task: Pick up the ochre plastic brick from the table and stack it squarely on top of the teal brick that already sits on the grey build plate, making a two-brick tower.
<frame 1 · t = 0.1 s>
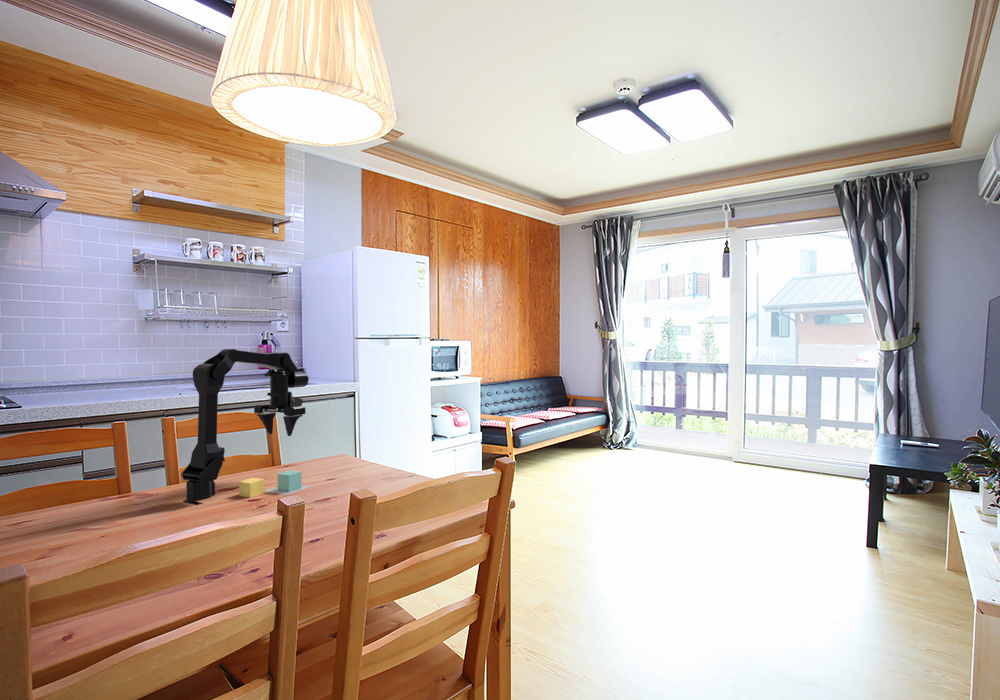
hand: (279, 435, 173), 14 cm above the table, fingers open, 9 cm apart
teal brick: (289, 489, 155), point 1 cm above the table, touching build plate
ochre brick: (252, 497, 150), on the table
build plate: (287, 491, 156), on the table
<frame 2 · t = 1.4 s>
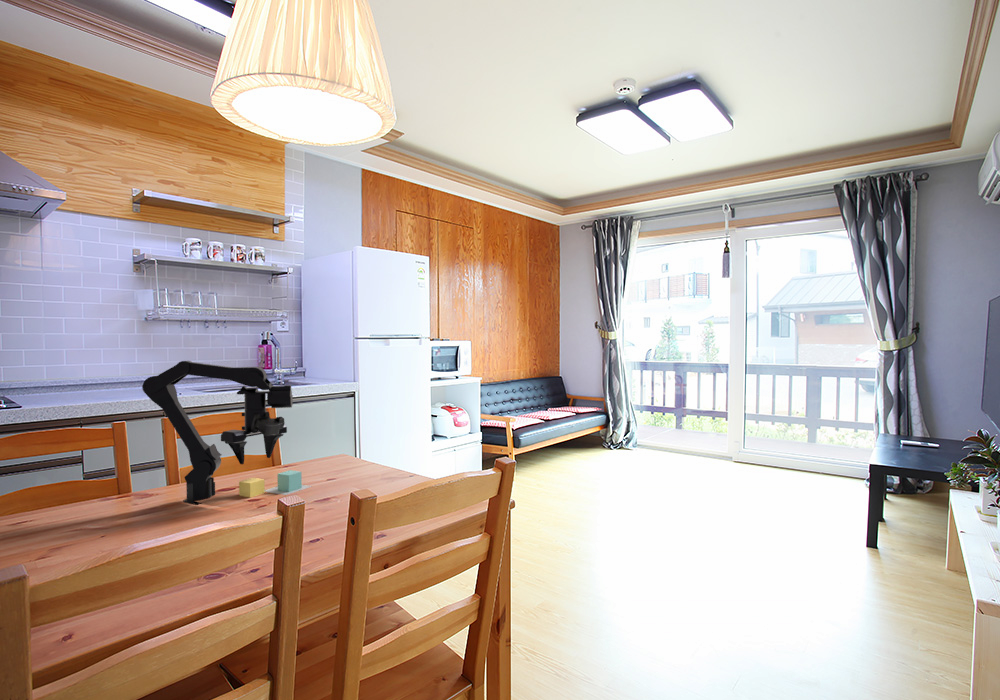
hand: (255, 461, 152), 10 cm above the table, fingers open, 9 cm apart
nothing on the table moved.
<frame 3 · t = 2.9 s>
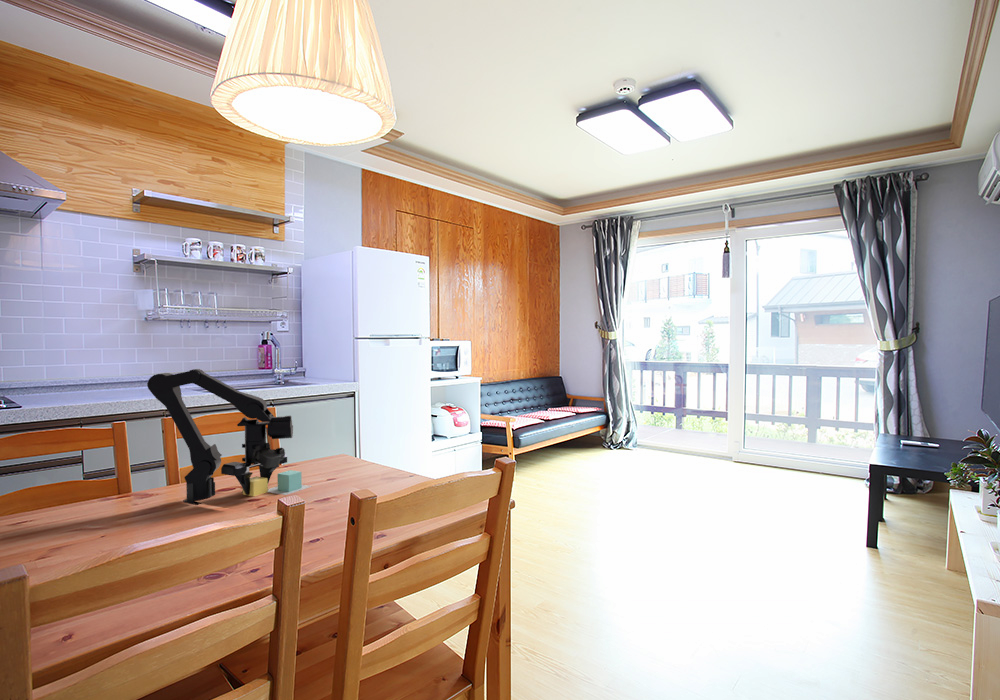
hand: (256, 492, 152), 1 cm above the table, fingers open, 5 cm apart
ochre brick: (255, 495, 151), on the table, touching build plate, gripper
everything else where it was.
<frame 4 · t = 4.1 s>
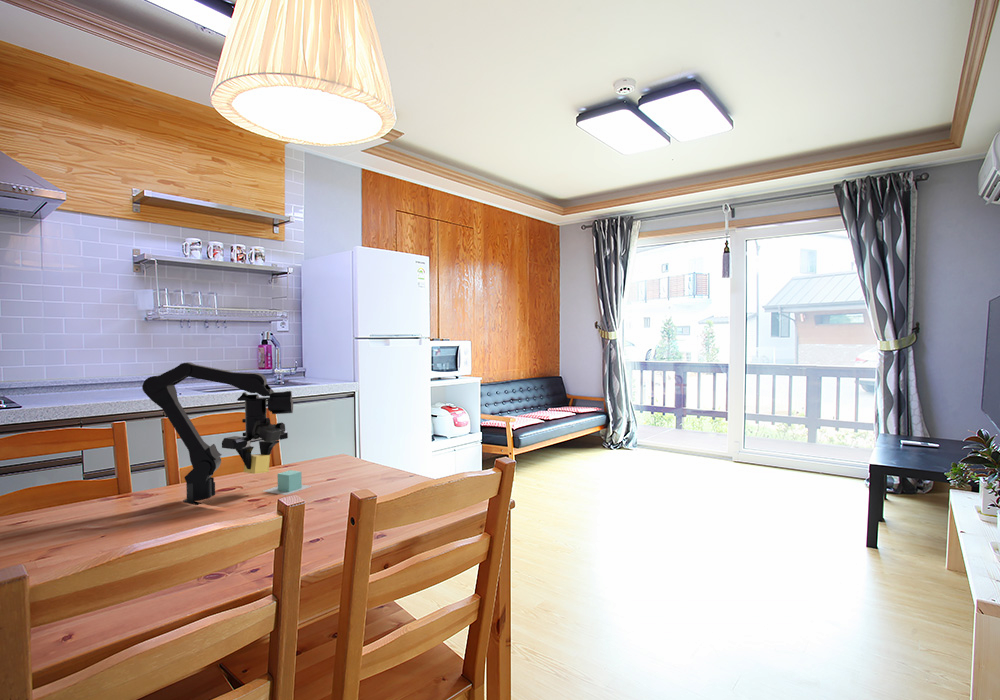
hand: (256, 467, 152), 8 cm above the table, fingers closed on ochre brick, 5 cm apart
ochre brick: (256, 472, 151), point 7 cm above the table, tilted 7°, touching gripper
everything else where it was.
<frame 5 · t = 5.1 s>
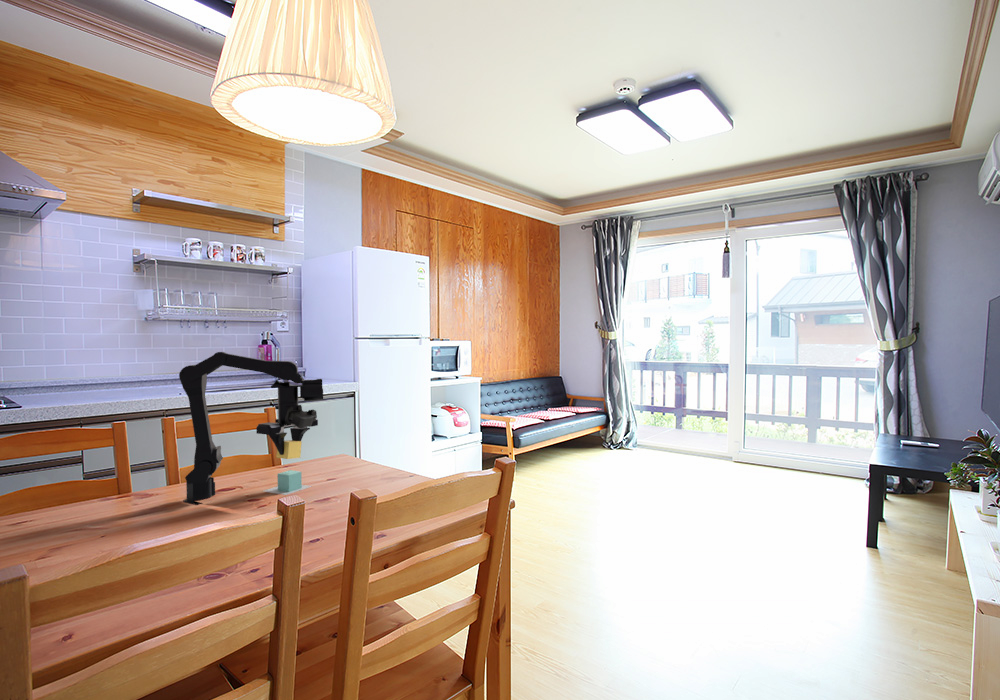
hand: (289, 453, 155), 12 cm above the table, fingers closed on ochre brick, 5 cm apart
ochre brick: (288, 457, 155), point 10 cm above the table, tilted 7°, touching gripper
everything else where it was.
when the fingers open (8 cm above the table, at t = 6.5 s): ochre brick stays where it is, resting on teal brick.
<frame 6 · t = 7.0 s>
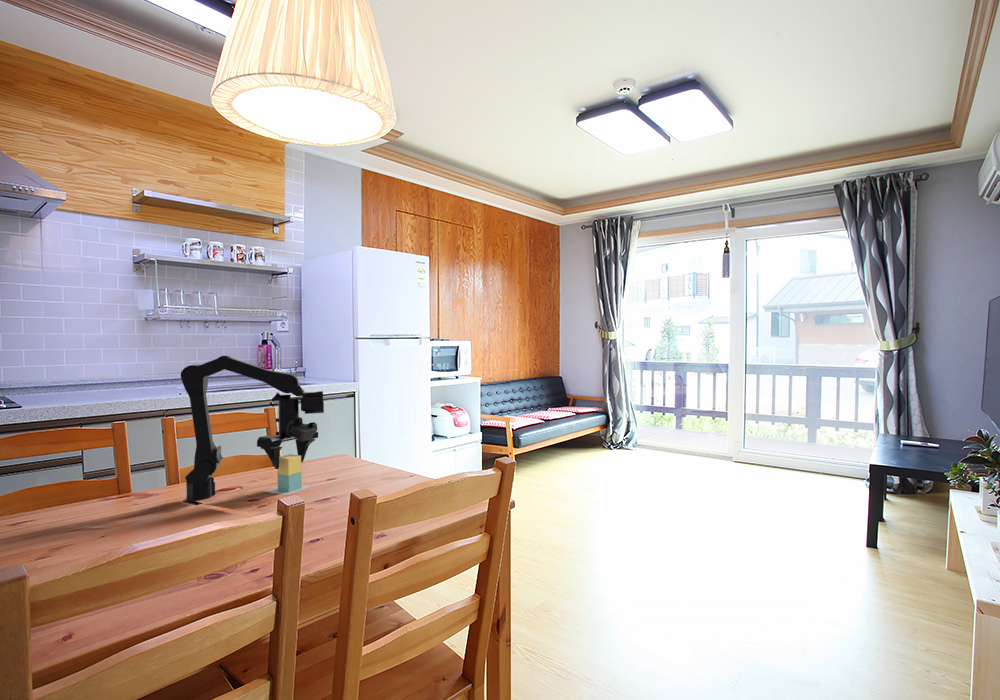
hand: (289, 465, 155), 8 cm above the table, fingers open, 9 cm apart
teal brick: (289, 488, 155), point 1 cm above the table, touching build plate, ochre brick
ochre brick: (289, 472, 155), point 6 cm above the table, touching teal brick
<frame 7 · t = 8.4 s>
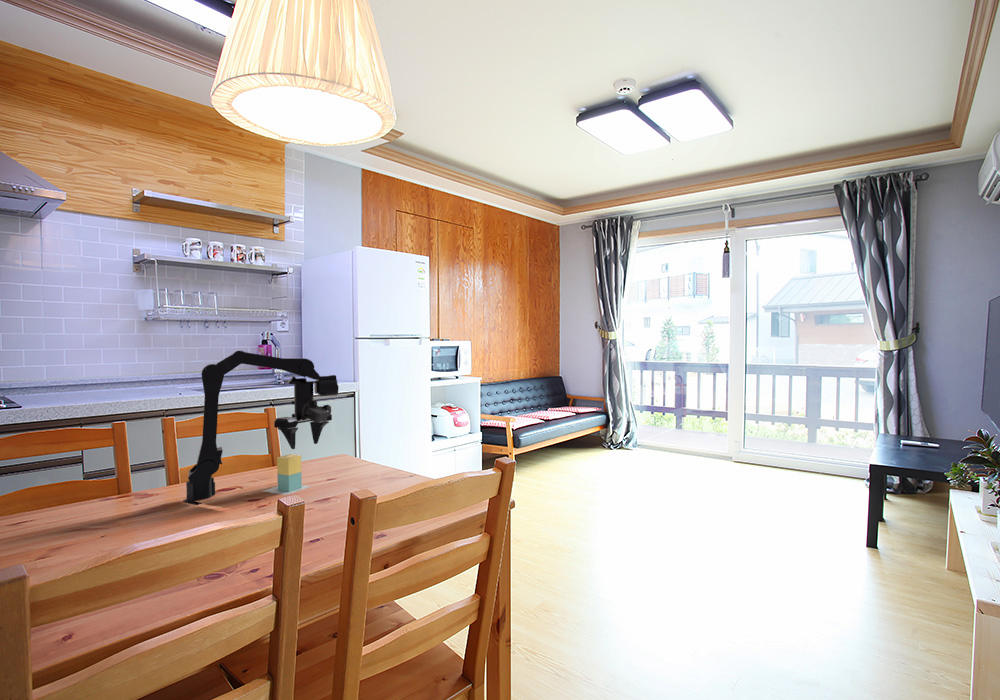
hand: (304, 446, 162), 13 cm above the table, fingers open, 9 cm apart
nothing on the table moved.
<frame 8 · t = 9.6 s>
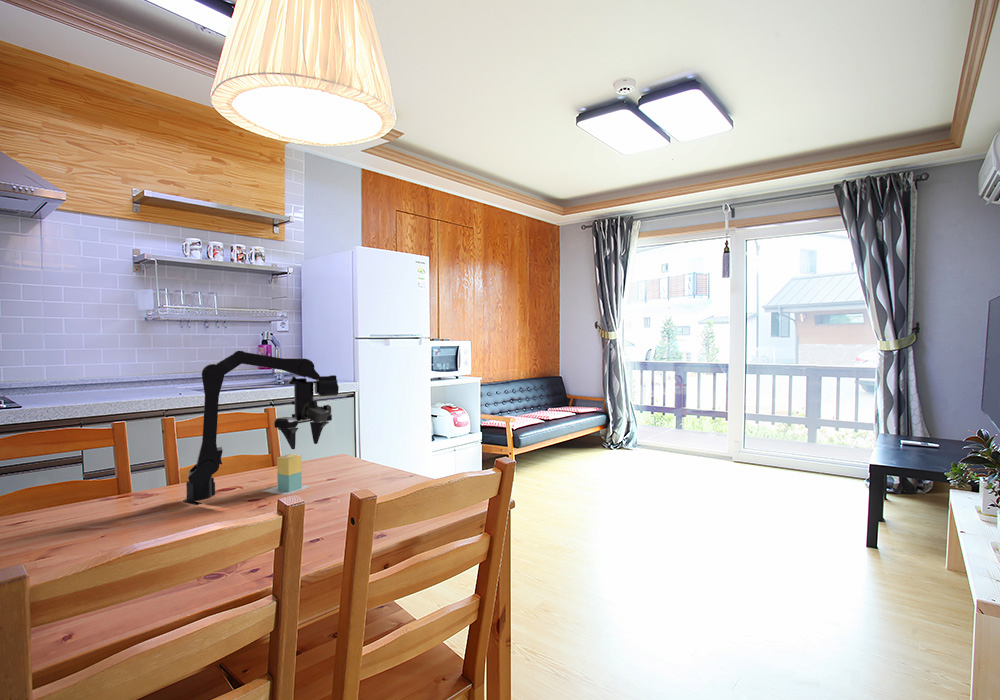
hand: (304, 446, 162), 12 cm above the table, fingers open, 9 cm apart
nothing on the table moved.
at the end: ochre brick 0.1 cm off-centre on the teal brick, point 5.0 cm above the teal brick's base; ochre brick tilted 0°; teal brick moved 0.0 cm from its start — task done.
